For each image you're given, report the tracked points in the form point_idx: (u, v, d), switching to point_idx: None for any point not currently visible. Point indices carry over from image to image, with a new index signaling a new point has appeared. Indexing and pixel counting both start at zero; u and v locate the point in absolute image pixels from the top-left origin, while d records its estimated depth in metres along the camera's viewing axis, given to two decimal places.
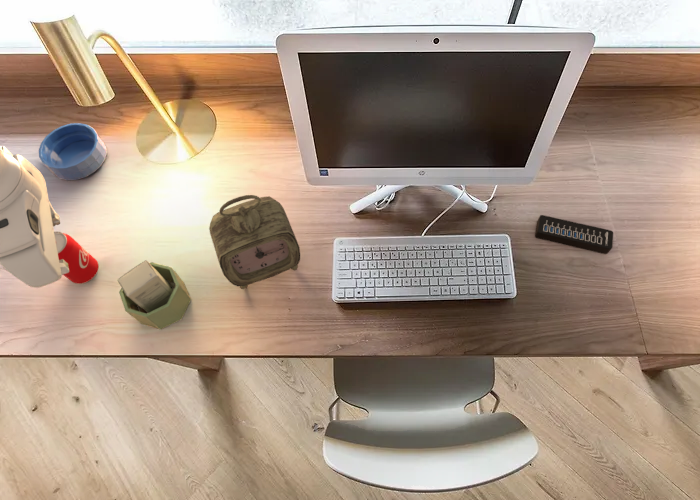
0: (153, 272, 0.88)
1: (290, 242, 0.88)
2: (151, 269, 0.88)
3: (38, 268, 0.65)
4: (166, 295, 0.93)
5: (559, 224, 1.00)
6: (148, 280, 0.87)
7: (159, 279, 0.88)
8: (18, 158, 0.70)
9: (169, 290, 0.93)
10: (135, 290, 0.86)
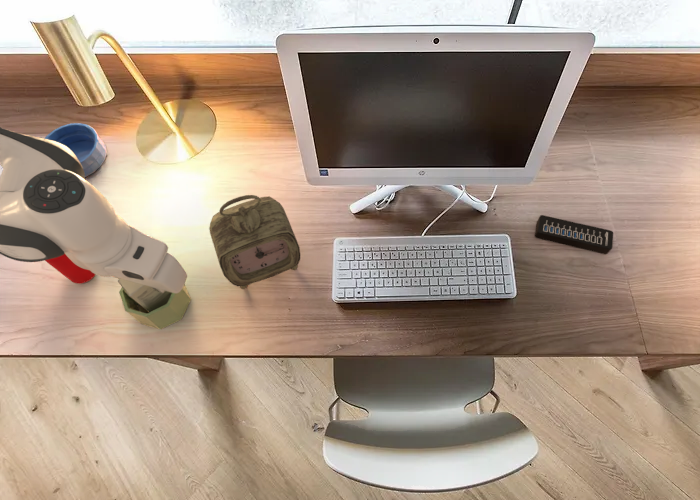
0: None
1: (290, 242, 0.88)
2: None
3: (177, 269, 0.81)
4: (167, 294, 0.93)
5: (559, 224, 1.00)
6: None
7: None
8: None
9: None
10: (137, 290, 0.86)
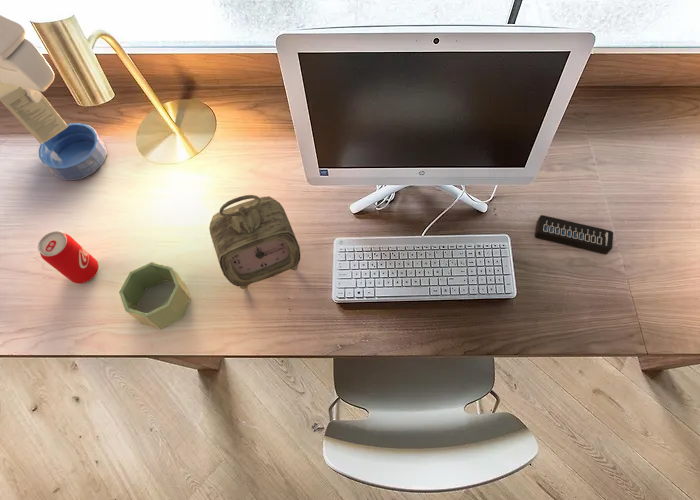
0: None
1: (290, 242, 0.88)
2: None
3: (39, 61, 0.80)
4: (48, 114, 0.93)
5: (559, 224, 1.00)
6: None
7: None
8: None
9: (50, 107, 0.92)
10: (8, 94, 0.85)
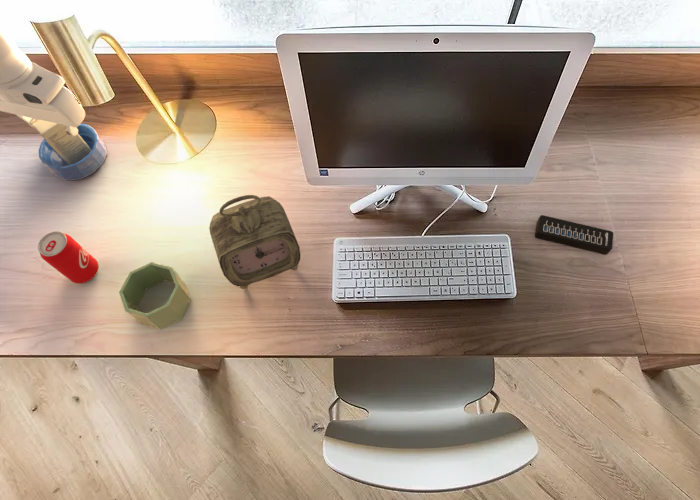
0: None
1: (290, 242, 0.88)
2: None
3: (74, 103, 0.98)
4: (78, 144, 1.11)
5: (559, 224, 1.00)
6: None
7: None
8: None
9: (80, 138, 1.11)
10: (47, 130, 1.04)
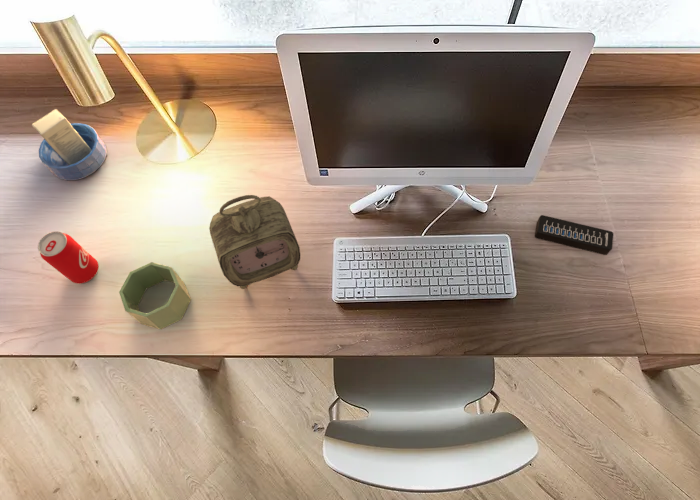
0: (62, 116, 1.06)
1: (290, 242, 0.88)
2: (60, 114, 1.06)
3: None
4: (78, 144, 1.11)
5: (559, 224, 1.00)
6: (58, 122, 1.05)
7: (68, 123, 1.07)
8: None
9: (80, 138, 1.11)
10: (47, 130, 1.04)
